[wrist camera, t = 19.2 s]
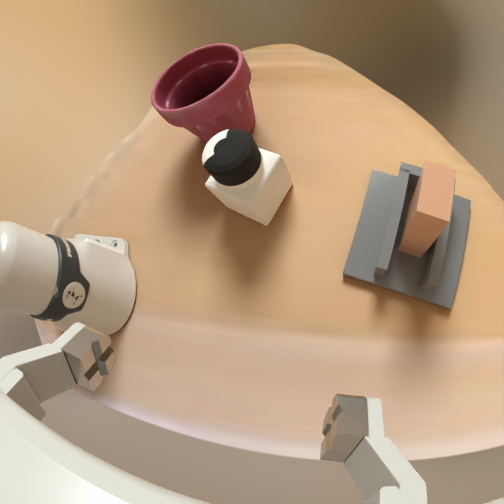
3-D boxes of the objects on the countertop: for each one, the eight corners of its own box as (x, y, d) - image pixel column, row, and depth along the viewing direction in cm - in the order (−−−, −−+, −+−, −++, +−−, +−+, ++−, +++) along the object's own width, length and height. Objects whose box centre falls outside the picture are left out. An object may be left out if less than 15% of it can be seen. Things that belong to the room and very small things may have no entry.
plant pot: (210, 94, 50) (178, 47, 38) (281, 96, 44) (257, 38, 33) (178, 157, 48) (133, 114, 36) (252, 166, 42) (215, 111, 31)
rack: (343, 274, 34) (341, 265, 30) (372, 173, 36) (373, 153, 31) (448, 309, 29) (462, 305, 24) (468, 203, 30) (480, 186, 26)
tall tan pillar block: (397, 250, 32) (416, 210, 21) (406, 212, 32) (425, 159, 21) (420, 257, 31) (449, 221, 20) (428, 219, 31) (455, 170, 20)
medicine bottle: (294, 182, 39) (269, 129, 28) (268, 227, 39) (233, 186, 28) (251, 166, 42) (217, 115, 31) (226, 207, 42) (182, 165, 31)
